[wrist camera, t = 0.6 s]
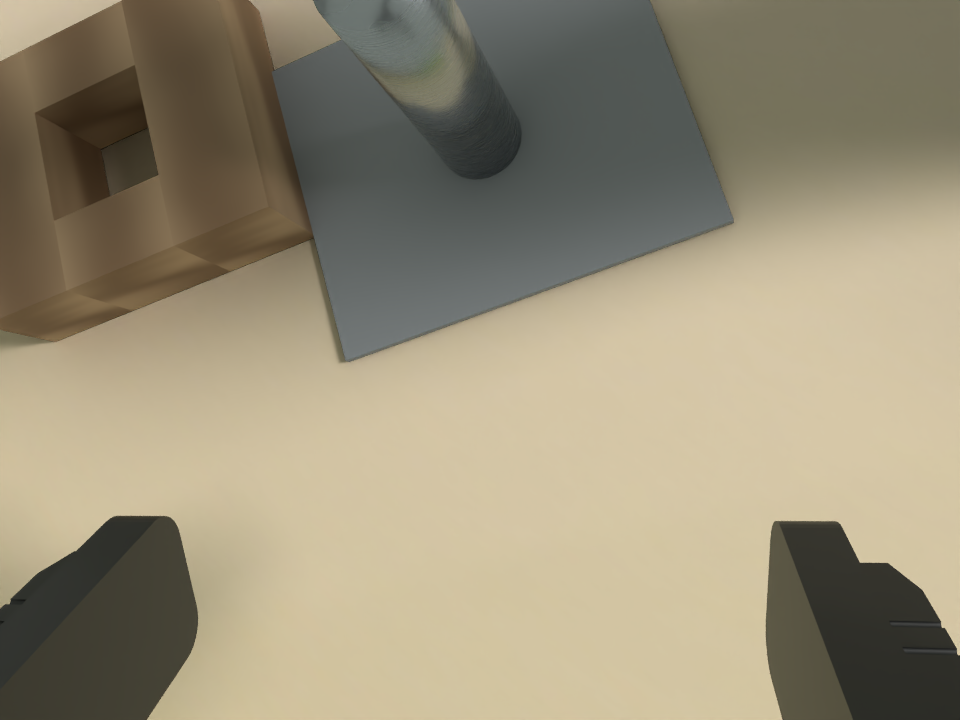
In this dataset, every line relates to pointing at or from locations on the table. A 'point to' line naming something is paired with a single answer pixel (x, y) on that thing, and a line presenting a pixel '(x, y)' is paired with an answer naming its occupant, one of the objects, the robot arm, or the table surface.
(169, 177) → the hole block
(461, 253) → the mat
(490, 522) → the table surface
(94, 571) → the robot arm
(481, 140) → the peg
